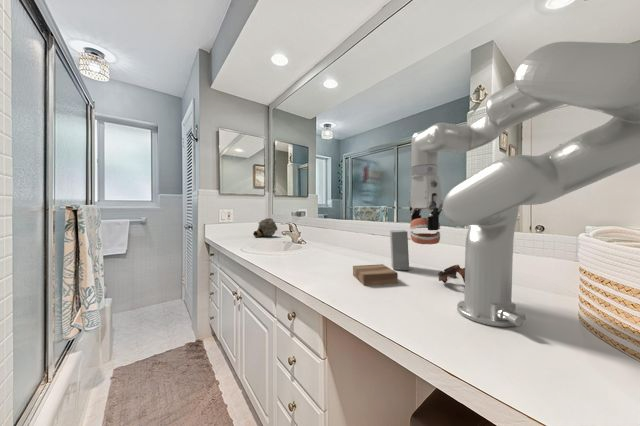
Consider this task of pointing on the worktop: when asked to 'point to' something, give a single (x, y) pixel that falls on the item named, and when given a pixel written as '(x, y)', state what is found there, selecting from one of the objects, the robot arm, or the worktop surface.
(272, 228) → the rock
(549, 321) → the worktop surface
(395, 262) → the skincare box
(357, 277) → the walnut base
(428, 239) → the dentures
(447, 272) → the dark brown jagged part
